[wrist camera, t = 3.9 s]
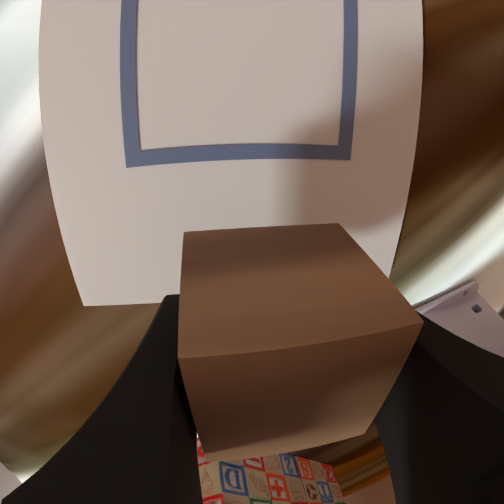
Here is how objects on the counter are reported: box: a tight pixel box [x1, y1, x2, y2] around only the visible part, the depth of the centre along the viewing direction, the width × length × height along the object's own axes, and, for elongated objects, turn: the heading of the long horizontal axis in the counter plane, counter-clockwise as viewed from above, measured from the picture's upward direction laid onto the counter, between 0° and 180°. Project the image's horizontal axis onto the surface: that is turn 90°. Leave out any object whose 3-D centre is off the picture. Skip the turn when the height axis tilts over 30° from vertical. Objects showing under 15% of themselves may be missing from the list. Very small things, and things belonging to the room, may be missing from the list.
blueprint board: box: [39, 0, 423, 306], centre depth 10 cm, size 22×16×1 cm
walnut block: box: [178, 223, 424, 462], centre depth 8 cm, size 4×4×4 cm
